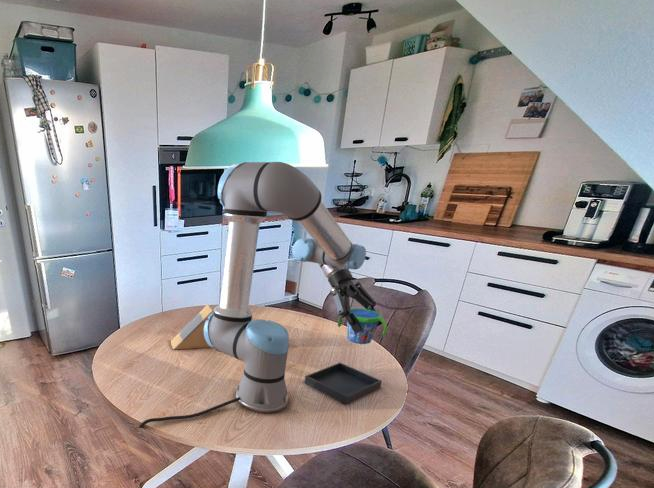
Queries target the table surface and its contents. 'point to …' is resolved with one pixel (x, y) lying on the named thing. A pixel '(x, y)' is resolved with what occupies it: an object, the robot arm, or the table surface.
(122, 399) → the table surface
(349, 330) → the snack cup
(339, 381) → the tray
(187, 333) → the sandwich container
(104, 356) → the table surface
